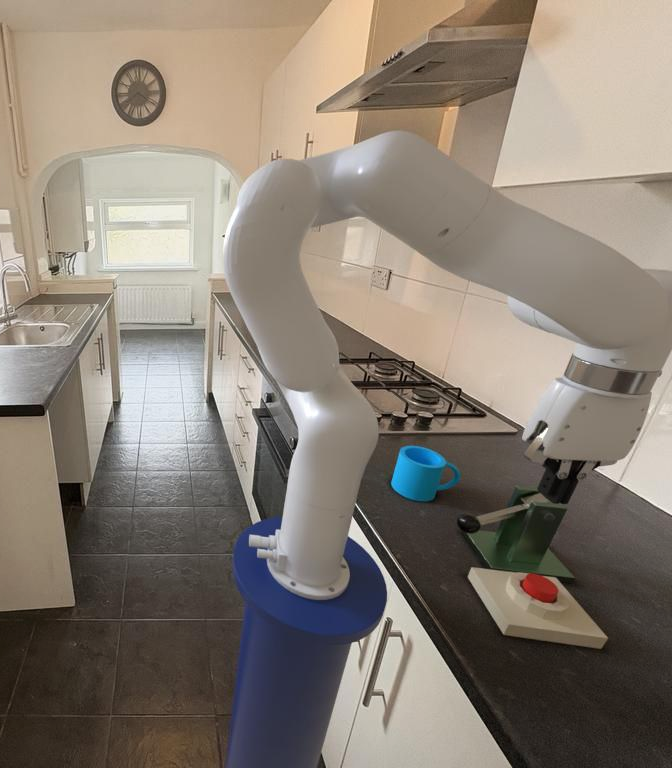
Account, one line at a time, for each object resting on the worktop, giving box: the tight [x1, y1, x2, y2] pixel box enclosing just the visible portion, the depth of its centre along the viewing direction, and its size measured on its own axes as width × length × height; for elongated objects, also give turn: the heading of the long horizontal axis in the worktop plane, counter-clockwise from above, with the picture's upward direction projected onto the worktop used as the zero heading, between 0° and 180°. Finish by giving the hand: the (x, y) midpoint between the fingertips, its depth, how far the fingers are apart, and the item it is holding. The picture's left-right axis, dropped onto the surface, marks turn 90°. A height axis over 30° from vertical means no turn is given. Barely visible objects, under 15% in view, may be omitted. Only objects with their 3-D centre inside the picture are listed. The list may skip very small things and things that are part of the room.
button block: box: [467, 566, 609, 650], centre depth 61 cm, size 12×10×4 cm
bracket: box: [462, 485, 576, 584], centre depth 68 cm, size 12×9×13 cm
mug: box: [390, 445, 461, 502], centre depth 86 cm, size 12×8×8 cm
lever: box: [456, 493, 551, 534], centre depth 68 cm, size 13×3×3 cm, turn 79°
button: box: [522, 574, 558, 603], centre depth 60 cm, size 4×4×2 cm
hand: (551, 497), depth 57 cm, fingers closed
